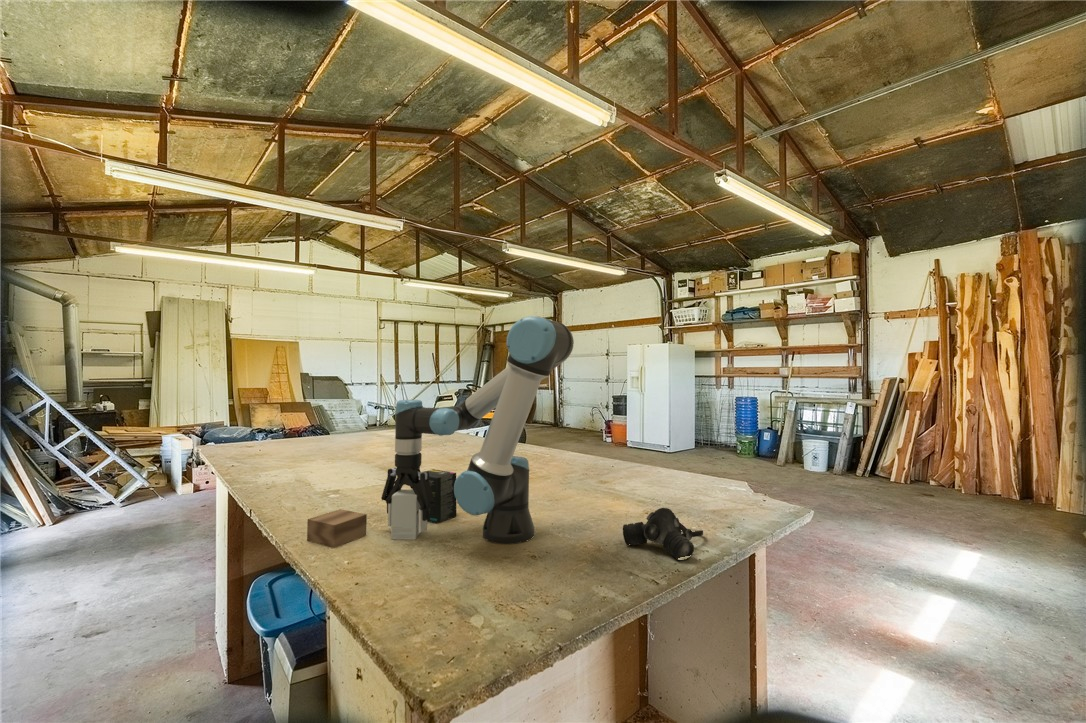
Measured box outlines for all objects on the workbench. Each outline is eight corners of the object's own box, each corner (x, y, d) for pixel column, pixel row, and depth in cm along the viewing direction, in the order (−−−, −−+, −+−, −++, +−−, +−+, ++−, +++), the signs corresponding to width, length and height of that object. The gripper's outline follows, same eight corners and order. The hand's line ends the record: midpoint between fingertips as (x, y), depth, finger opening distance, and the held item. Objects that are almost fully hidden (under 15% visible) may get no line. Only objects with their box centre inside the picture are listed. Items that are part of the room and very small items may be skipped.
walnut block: (366, 535, 135) (366, 514, 135) (333, 547, 125) (334, 525, 125) (340, 529, 140) (340, 509, 140) (307, 540, 130) (307, 519, 130)
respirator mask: (613, 536, 127) (632, 488, 135) (644, 569, 139) (660, 522, 146) (681, 556, 114) (698, 501, 121) (710, 590, 125) (723, 538, 133)
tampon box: (457, 516, 153) (457, 472, 153) (436, 524, 145) (437, 477, 146) (433, 511, 159) (433, 468, 159) (412, 518, 151) (413, 473, 151)
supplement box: (416, 540, 131) (416, 495, 132) (390, 539, 131) (390, 494, 132) (423, 531, 139) (423, 488, 139) (398, 531, 139) (399, 488, 139)
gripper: (448, 454, 134) (447, 530, 133) (388, 447, 144) (387, 518, 144) (431, 458, 127) (430, 538, 126) (369, 451, 138) (368, 525, 137)
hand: (407, 528), depth 135 cm, fingers open, 11 cm apart
